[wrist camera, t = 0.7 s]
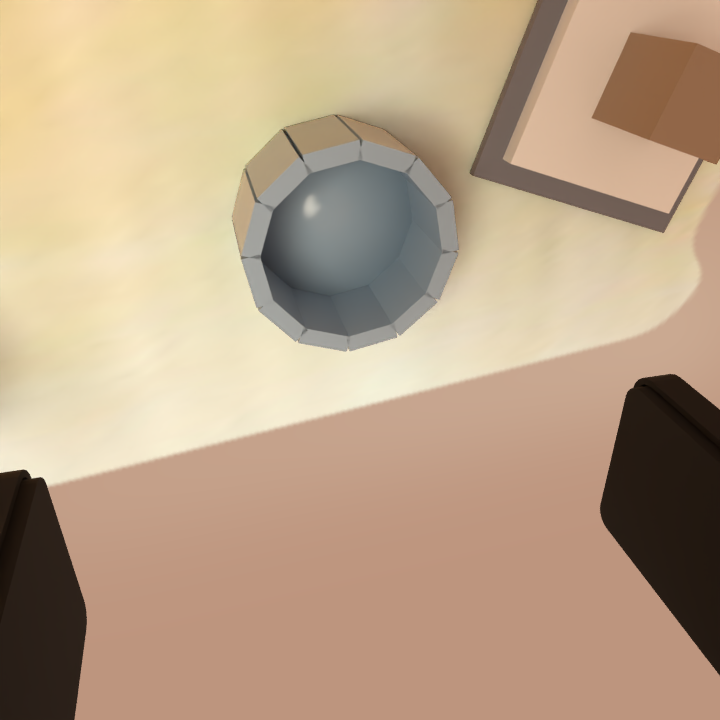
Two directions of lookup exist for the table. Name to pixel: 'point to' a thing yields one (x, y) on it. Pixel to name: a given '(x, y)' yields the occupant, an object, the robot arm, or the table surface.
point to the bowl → (343, 233)
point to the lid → (625, 99)
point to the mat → (507, 118)
